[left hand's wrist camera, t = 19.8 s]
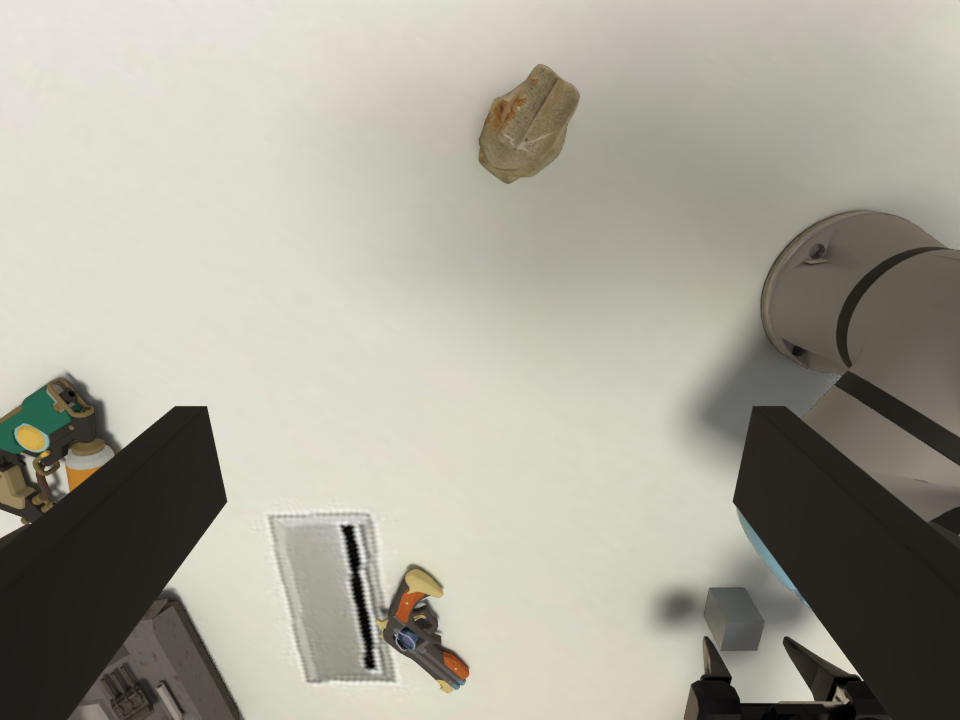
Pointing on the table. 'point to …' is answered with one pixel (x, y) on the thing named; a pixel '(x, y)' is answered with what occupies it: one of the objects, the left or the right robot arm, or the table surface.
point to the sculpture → (527, 126)
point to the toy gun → (421, 632)
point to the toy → (159, 675)
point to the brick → (733, 619)
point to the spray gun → (47, 447)
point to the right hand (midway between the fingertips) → (744, 639)
